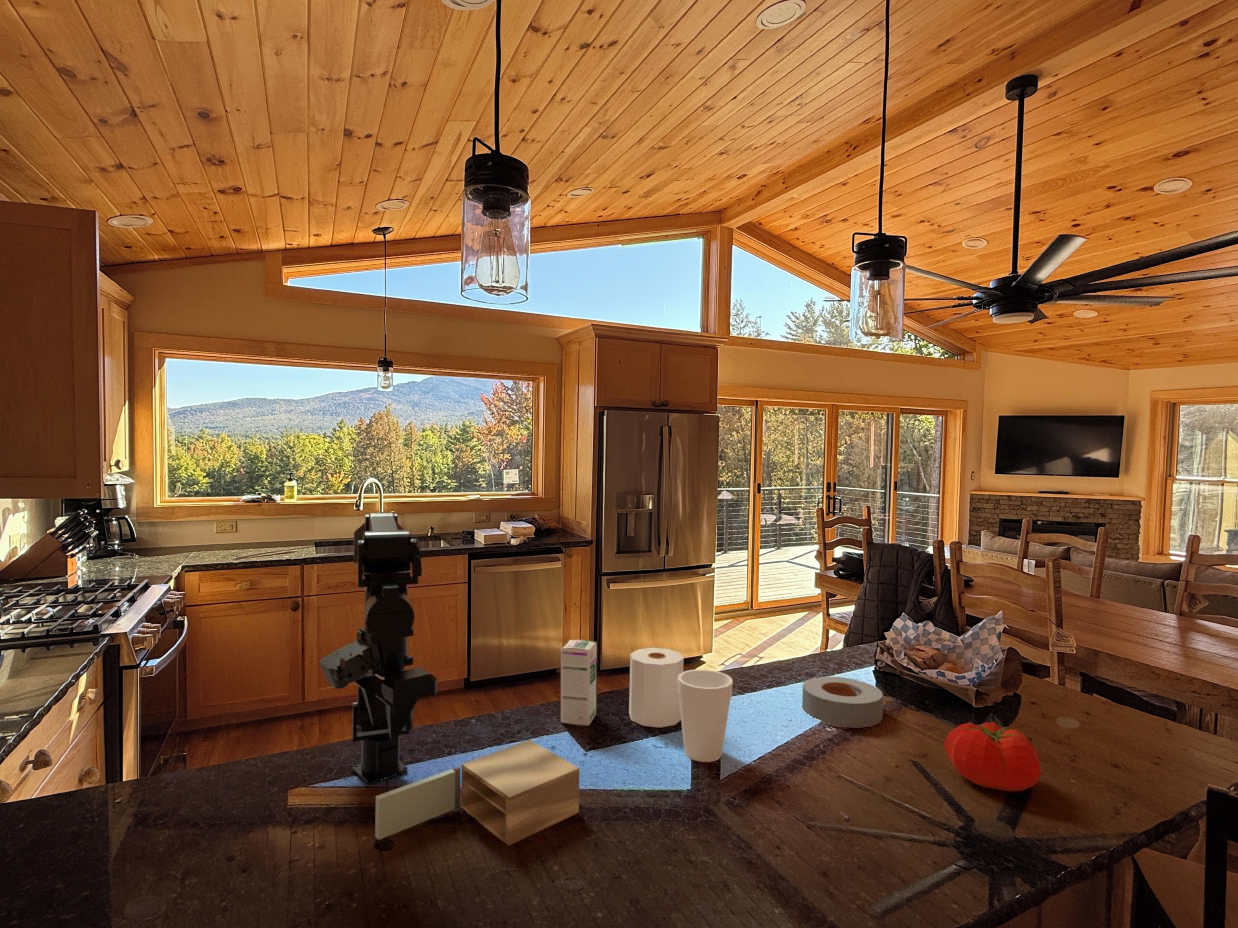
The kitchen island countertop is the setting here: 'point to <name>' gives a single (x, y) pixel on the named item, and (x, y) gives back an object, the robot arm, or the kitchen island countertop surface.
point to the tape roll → (842, 701)
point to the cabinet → (519, 790)
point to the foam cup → (704, 712)
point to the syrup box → (578, 682)
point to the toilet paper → (655, 687)
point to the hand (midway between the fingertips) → (385, 731)
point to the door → (417, 802)
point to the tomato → (993, 756)
